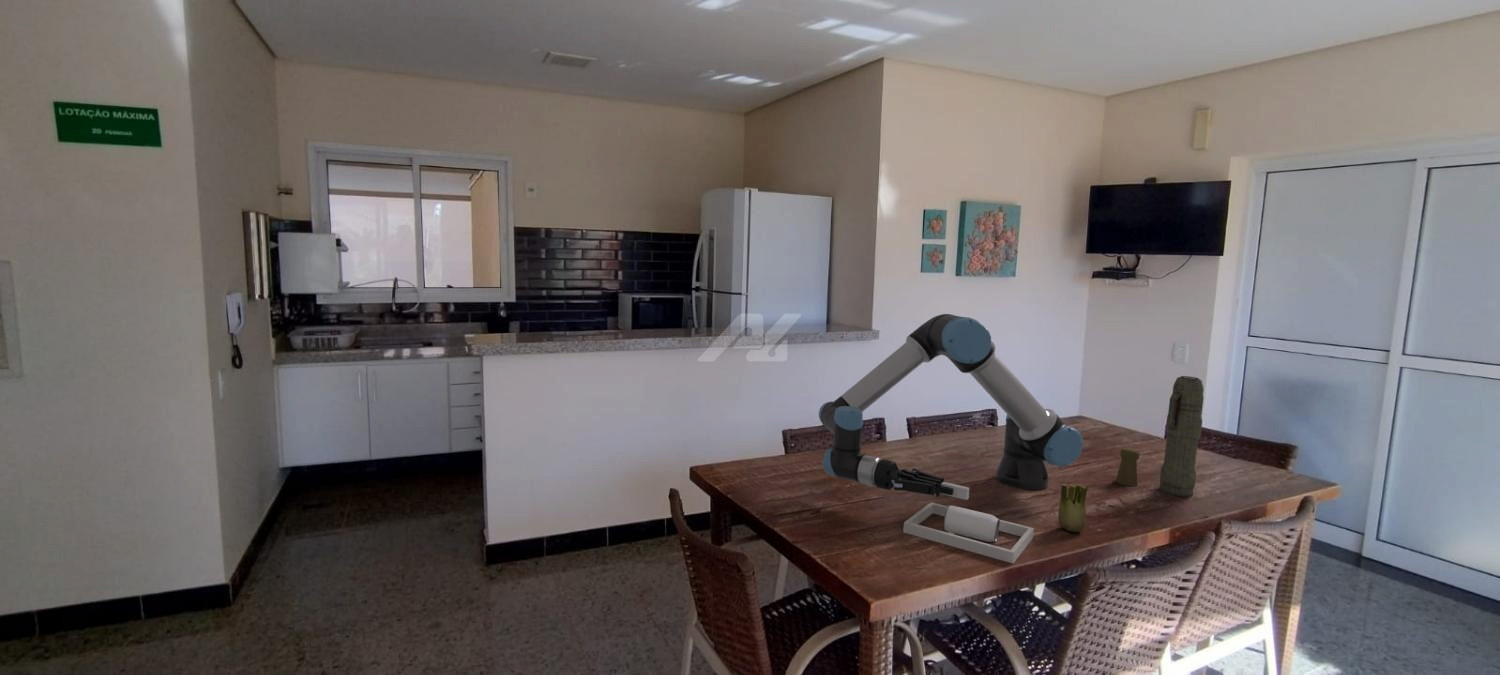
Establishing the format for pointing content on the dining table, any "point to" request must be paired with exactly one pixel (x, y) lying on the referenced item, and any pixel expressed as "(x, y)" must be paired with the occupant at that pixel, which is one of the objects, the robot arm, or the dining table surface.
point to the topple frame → (965, 543)
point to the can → (971, 523)
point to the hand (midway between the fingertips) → (967, 493)
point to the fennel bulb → (1072, 508)
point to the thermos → (1182, 437)
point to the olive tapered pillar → (1128, 467)
